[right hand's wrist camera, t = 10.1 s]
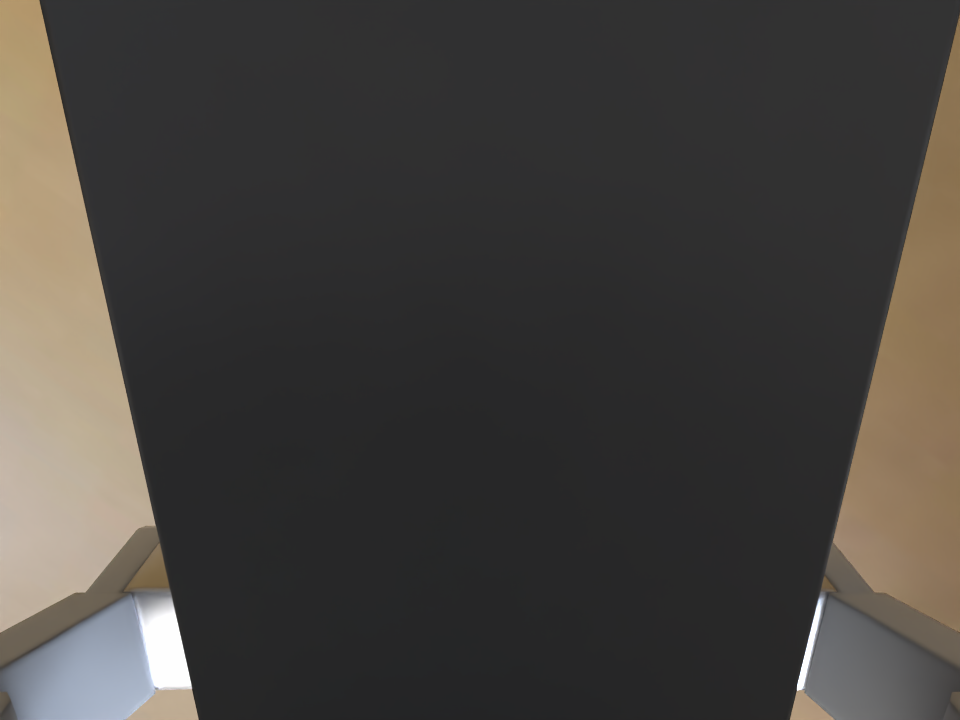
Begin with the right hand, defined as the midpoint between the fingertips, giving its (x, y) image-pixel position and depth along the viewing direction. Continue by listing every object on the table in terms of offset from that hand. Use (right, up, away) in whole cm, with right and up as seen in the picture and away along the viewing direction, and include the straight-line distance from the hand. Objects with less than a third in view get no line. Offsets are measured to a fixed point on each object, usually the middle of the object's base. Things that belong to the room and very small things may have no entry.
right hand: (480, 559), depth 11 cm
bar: (0, +9, 0) cm, 9 cm away
